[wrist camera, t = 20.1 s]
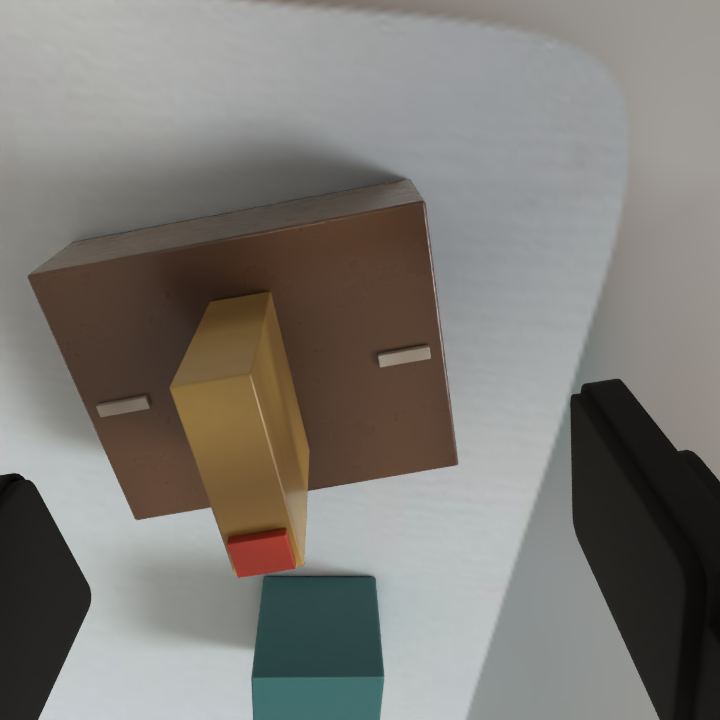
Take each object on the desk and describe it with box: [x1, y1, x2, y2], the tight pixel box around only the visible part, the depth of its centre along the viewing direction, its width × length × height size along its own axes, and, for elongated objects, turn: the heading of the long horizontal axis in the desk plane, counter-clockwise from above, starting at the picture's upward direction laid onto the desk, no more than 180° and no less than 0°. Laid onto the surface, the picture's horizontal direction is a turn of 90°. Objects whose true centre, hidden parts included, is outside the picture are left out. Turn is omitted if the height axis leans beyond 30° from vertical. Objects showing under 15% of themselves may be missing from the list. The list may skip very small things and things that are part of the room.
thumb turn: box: [170, 292, 309, 578], centre depth 15 cm, size 5×2×5 cm, turn 9°
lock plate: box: [28, 179, 458, 520], centre depth 18 cm, size 10×8×3 cm
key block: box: [251, 577, 384, 720], centre depth 23 cm, size 4×4×4 cm
